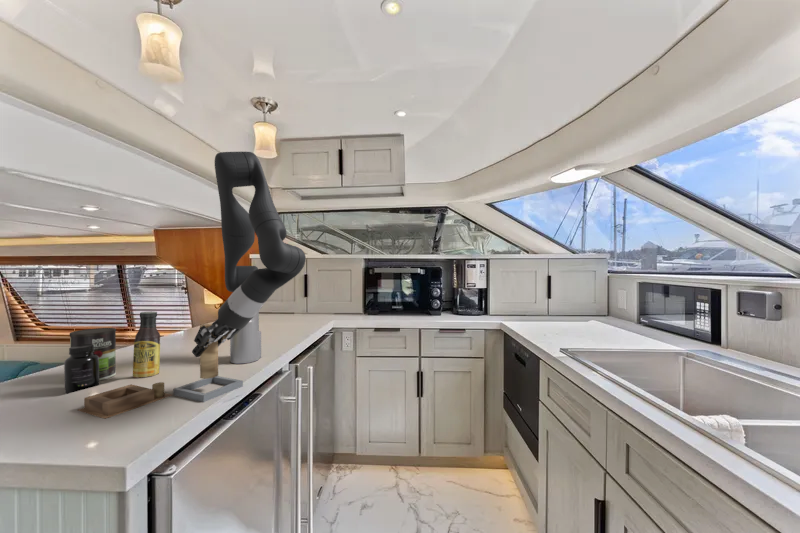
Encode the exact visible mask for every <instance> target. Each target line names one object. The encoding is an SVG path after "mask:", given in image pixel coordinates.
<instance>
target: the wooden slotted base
mask: <svg viewBox="0 0 800 533" xmlns="http://www.w3.org/2000/svg"><path fill="white" fill-rule="evenodd" d="M151 387H152V388H147V387H144V386H140V385H139V386H138V385H135V384H128V385H123V386H121V387H117V388H113V389H110V390H107V391H104V392H99V393H96V394H93V395H90V396H86V397H84V398H83V399H84V400H83V401H84V403H83V405H84V407H82V408H79V409H77V411H79V412H82V413H85V414H88V415H91V416H95V417H97V418H101V419H104V420H107V419H110V418H111V417H115V416H117V415H121V414H123V413H126V412H129V411H131V410H135V409H137V408H141V407H143V406H147V405H149V404H152V403H155V402H158V401H161V400H163V399H167V398H169V397H172V396H173V394H172V393H167V392H165V382H164V381H163V382H162V381H160V382H155V383H153V384H152V385H151Z"/></svg>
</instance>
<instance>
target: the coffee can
mask: <svg viewBox="0 0 800 533" xmlns="http://www.w3.org/2000/svg"><path fill="white" fill-rule="evenodd" d="M116 333H117V328H113V327H98V328H88V329H87V328H86V329H81V330H80V329H79V330H75V331H71V332H69V340H70V342H69V346H70V347H72V346H77V345H83V344H93V345H94V352H93V353H94V354H96V355H98V357H99V382H100V381H103V380H107V379H111V378H113V377H114V376H116V374H117V372H116V370H117V369H116V368H117V367H116V366H117V365H116V362H117V361H116V357H117V356H116V353H117V352H116V348H117V344H116V339H117V337H116V336H117V335H116ZM70 347H69V348H70Z"/></svg>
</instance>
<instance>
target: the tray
mask: <svg viewBox="0 0 800 533" xmlns="http://www.w3.org/2000/svg"><path fill="white" fill-rule="evenodd" d="M210 384H219V385H223V386H221V387H219V388H216V389H212V390H211V391H208V392H205V393H204V392H201V391H197V390H195V389H199V388H201V387H205V386H207V385H210ZM242 387H244V382H243V380H241V379H236V378H231V377H227V376H226V377H224V376H219V375H218V376H216V377H213V378H207V379H202V378H200V379H198V380H196V381H192V382H190V383H187V384H183V385H180V386H178V387H174V388H173V391H172V392H173V394H172V396H175V397H180V398H183V399H188V400H193V401H196V402H201V403H205V402H209V401H210V400H213V399H215V398H218V397H220V396H223V395H225V394H228V393H231V392H233V391H235V390H239V388H242Z"/></svg>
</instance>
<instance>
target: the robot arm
mask: <svg viewBox="0 0 800 533" xmlns="http://www.w3.org/2000/svg"><path fill="white" fill-rule="evenodd" d="M214 171H215V178H216V184H217V190H218V196H219V206H220V218H221V223H220V224H221V237H222V243H223V252H224V284H225V288H226V290H227V291H228V292H230V293H231V294H230V295H229V297H228V298H227V299H226V300H225V301H224V302H223V304H222V305H221V306H220V307H219V308H218V310H217V319H215V321H213V323H211V324H212V325H211V326H210V327H208V328H206V327H205V326H202V327H201V328H200V327H199V329H198V331H197V333H196V336H195V337H194V339H193V341H194V343H196V345H195V347H194V348H193V349H192V350H191V353H192V354H193V355H194V357H196V358H200V355H201V354H202V353H203V352H204V351H205V350H206V349H207V347H208V346H209V345H210V344H211V343H212V342H216V341H217V340H218V348H219V347H220V346H221V344H223V343H225V342H226V341H229V340H230V342H229V346H230V348H229V349H230V350H229V354H230V355H229V357H230V360H229V362H230V363H232V364H239V365H240V364H250V363H254V362H256V361H258V360H259V359H261V358H262V331H261V330H260V318H259V317H260V314H259V313H260V310H261V309H262V308H263V306H264V305H265V303H266V302H267V301H268V300H269V299H270V298H271V296H272V295H274V293H275V291H277V290H278V289H280V288H282V287H283V286H284V285H286V284H287V283H288V282H290V281H291V280H293V279H294V278H295V277H297V275H299V274H300V273H301V272H302V270H303V269H304V266H305V263H306V260H307V259H306V253H305V251H304V250H303V249H302V248H300V247H298V246H295V245H292V244H290V243H286V242H284V240H285V239H286V238H287V229H286V226H285V224H284V222H283V220H282V219H281V216H280V214H279V213H278V210H277V208H276V207H275V206H276V205H275V204H274V201H273V197H272V194H271V191H270V188H269V185H268V181H267V179H266V176H265V173H264V170H263V167H262V164H261V161H260V160H259V158H258V156H257V155H256V154H255V153H254V152H252V151H222V152H218V153H217V154H216V155H215V157H214ZM252 186H253V188H254V194H253V197H252V200H251V202H250V205H249V209H248V211H247V210H246V209H245V208H244V207H243V205H242V204H240V202H239V201H238V199H237V198H236V197H235V195H234V193H233V189H234V188H242V187H243V188H244V187H252ZM255 236H256V237H257V245H258V252H259V253H258V254H259V259H260V261H261V263H262V265H263V266H264V267H263V268H258V266H256V265H238V263H239V261H240V259H242V257H243V256H244V255H246V253H247V252H248V251H249V250H250V249H251V248H252V247H253V245H254V243H255V239H256V237H255ZM211 333H212V334H213V335H214V336H215V337H214V336H213V335H212V334H211ZM208 338H209V341H208V342H207V340H208Z"/></svg>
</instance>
